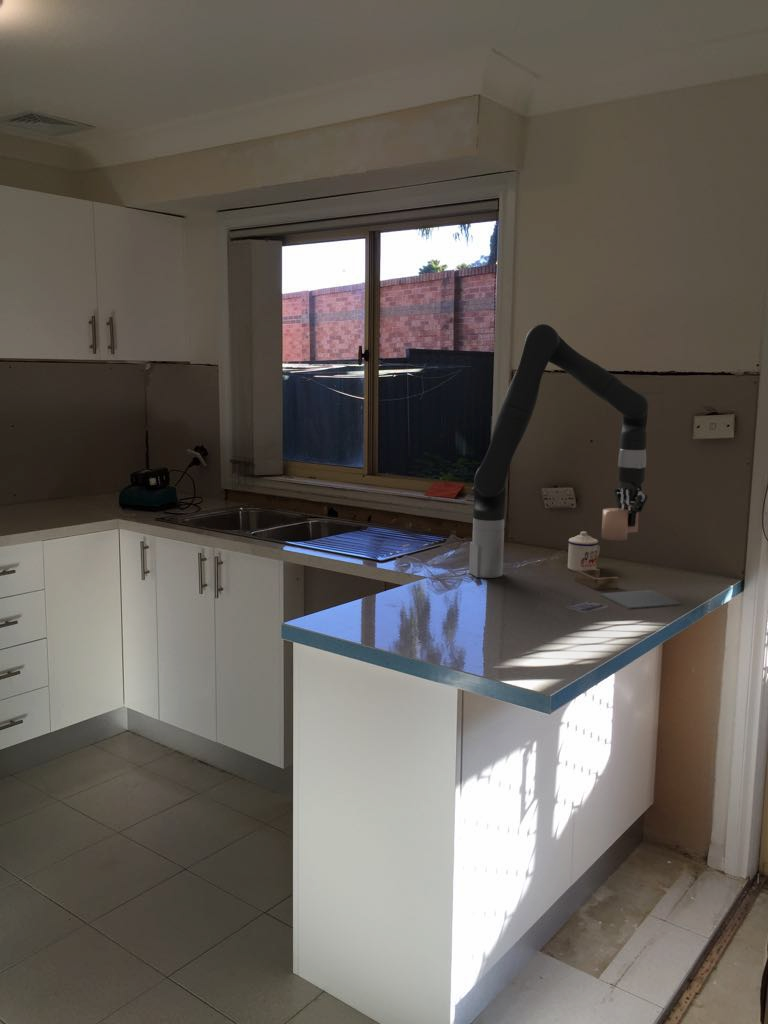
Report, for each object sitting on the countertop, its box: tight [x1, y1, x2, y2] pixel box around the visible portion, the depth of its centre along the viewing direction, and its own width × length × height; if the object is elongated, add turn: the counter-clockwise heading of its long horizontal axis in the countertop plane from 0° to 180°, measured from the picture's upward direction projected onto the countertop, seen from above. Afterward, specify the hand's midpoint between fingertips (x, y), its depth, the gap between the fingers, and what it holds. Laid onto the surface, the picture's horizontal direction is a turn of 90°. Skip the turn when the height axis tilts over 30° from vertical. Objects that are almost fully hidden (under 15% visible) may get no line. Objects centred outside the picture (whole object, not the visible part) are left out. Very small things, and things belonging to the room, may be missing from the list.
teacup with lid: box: [567, 531, 601, 572], centre depth 266 cm, size 12×9×12 cm
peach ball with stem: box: [601, 507, 640, 541], centre depth 244 cm, size 10×7×8 cm, turn 108°
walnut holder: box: [574, 568, 619, 590], centre depth 248 cm, size 8×11×3 cm
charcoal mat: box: [599, 589, 682, 610], centre depth 232 cm, size 16×14×1 cm
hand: (628, 525), depth 245 cm, fingers closed on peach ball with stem
